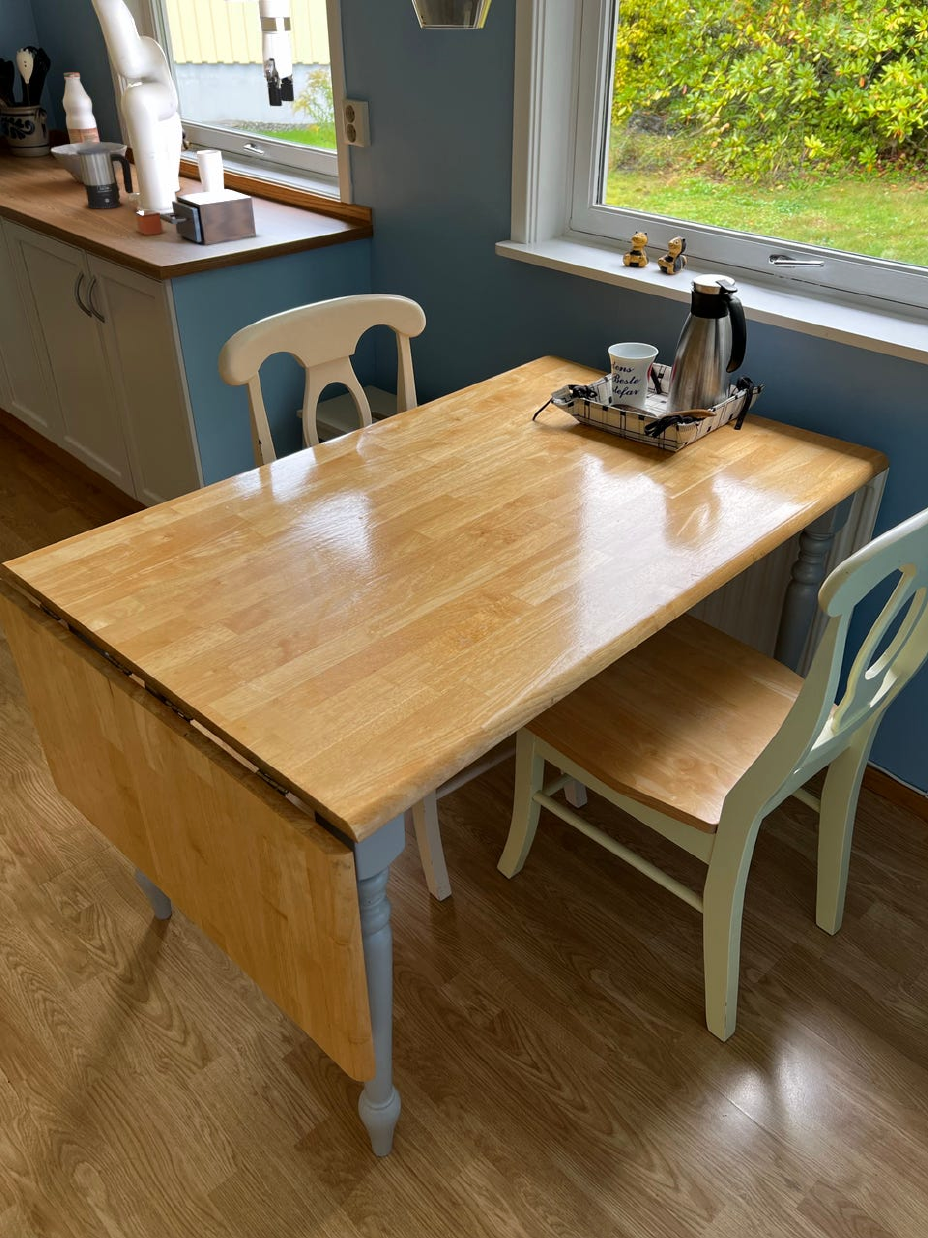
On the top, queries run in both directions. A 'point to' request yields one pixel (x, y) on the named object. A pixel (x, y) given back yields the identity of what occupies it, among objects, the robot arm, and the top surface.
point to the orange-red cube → (149, 222)
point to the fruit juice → (78, 111)
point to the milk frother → (103, 176)
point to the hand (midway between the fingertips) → (282, 103)
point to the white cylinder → (211, 170)
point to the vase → (172, 142)
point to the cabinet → (223, 215)
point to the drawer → (185, 220)
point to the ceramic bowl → (71, 158)
